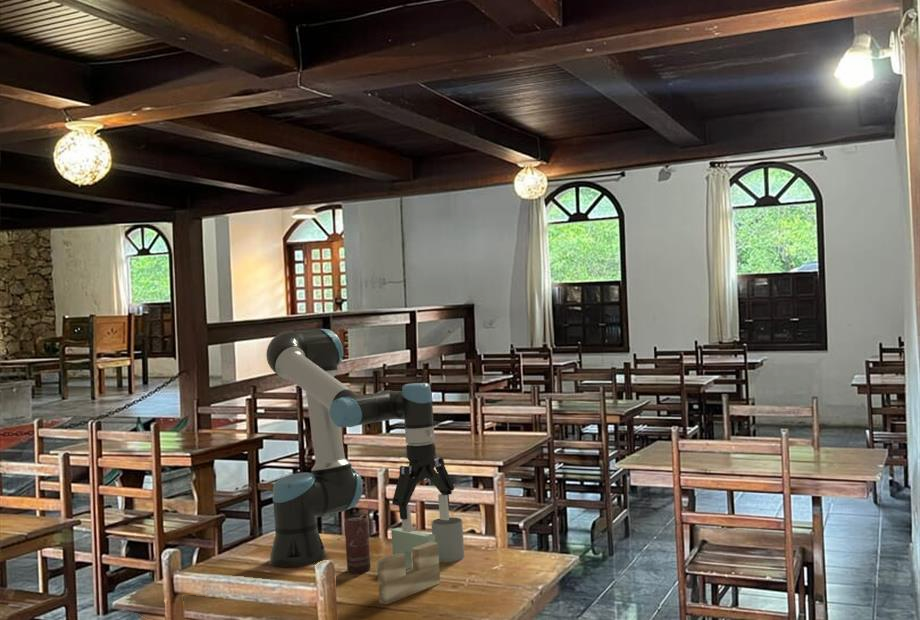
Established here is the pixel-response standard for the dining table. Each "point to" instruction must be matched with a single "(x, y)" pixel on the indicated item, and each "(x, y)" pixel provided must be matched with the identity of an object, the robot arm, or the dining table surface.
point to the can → (357, 544)
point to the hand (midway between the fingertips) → (426, 525)
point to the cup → (449, 539)
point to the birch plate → (408, 573)
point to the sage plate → (408, 543)
